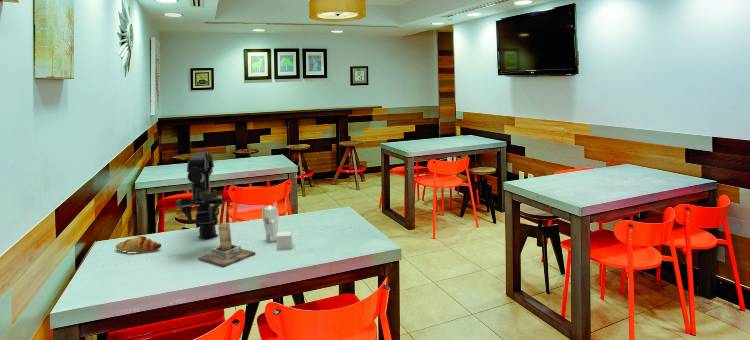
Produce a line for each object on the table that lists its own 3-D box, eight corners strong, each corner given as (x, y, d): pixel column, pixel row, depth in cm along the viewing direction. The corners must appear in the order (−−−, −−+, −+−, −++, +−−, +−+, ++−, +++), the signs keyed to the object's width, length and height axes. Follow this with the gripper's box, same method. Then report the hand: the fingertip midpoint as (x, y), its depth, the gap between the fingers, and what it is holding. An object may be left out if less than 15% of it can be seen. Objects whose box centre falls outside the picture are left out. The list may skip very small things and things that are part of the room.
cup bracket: (230, 247, 204) (229, 239, 203) (255, 254, 195) (254, 245, 194) (198, 259, 191) (197, 250, 190) (223, 267, 182) (222, 257, 181)
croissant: (113, 260, 203) (105, 247, 199) (124, 243, 211) (116, 230, 206) (159, 259, 201) (152, 246, 196) (168, 242, 209) (162, 229, 204)
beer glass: (281, 237, 216) (279, 205, 213) (277, 242, 209) (275, 209, 206) (267, 237, 217) (264, 205, 214) (262, 242, 210) (259, 209, 207)
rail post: (223, 252, 195) (220, 222, 192) (233, 252, 194) (231, 222, 192) (219, 256, 190) (216, 226, 188) (230, 256, 190) (227, 225, 188)
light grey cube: (292, 244, 206) (291, 231, 205) (291, 248, 200) (290, 235, 199) (278, 245, 205) (277, 232, 204) (277, 249, 200) (276, 236, 198)
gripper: (186, 183, 188) (188, 221, 186) (228, 183, 202) (231, 219, 200) (174, 187, 195) (176, 224, 193) (215, 187, 209) (217, 222, 207)
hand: (201, 222), depth 198 cm, fingers open, 9 cm apart
